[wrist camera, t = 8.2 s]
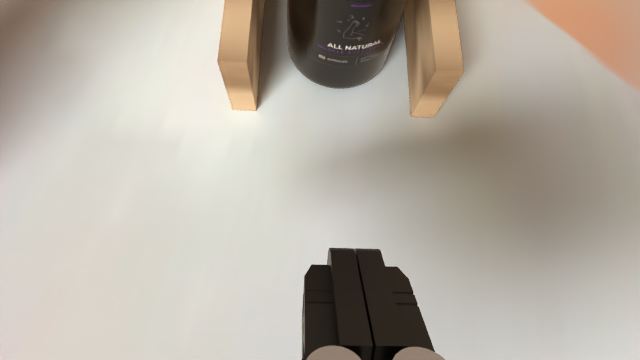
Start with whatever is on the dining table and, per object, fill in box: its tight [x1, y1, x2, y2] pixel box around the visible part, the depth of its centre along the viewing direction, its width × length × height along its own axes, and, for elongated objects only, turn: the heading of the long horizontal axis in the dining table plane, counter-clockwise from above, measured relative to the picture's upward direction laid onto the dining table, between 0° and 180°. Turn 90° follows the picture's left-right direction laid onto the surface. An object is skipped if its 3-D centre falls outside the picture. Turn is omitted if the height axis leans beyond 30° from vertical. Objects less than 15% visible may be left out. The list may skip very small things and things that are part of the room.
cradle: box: [218, 0, 464, 117], centre depth 25 cm, size 12×13×5 cm
